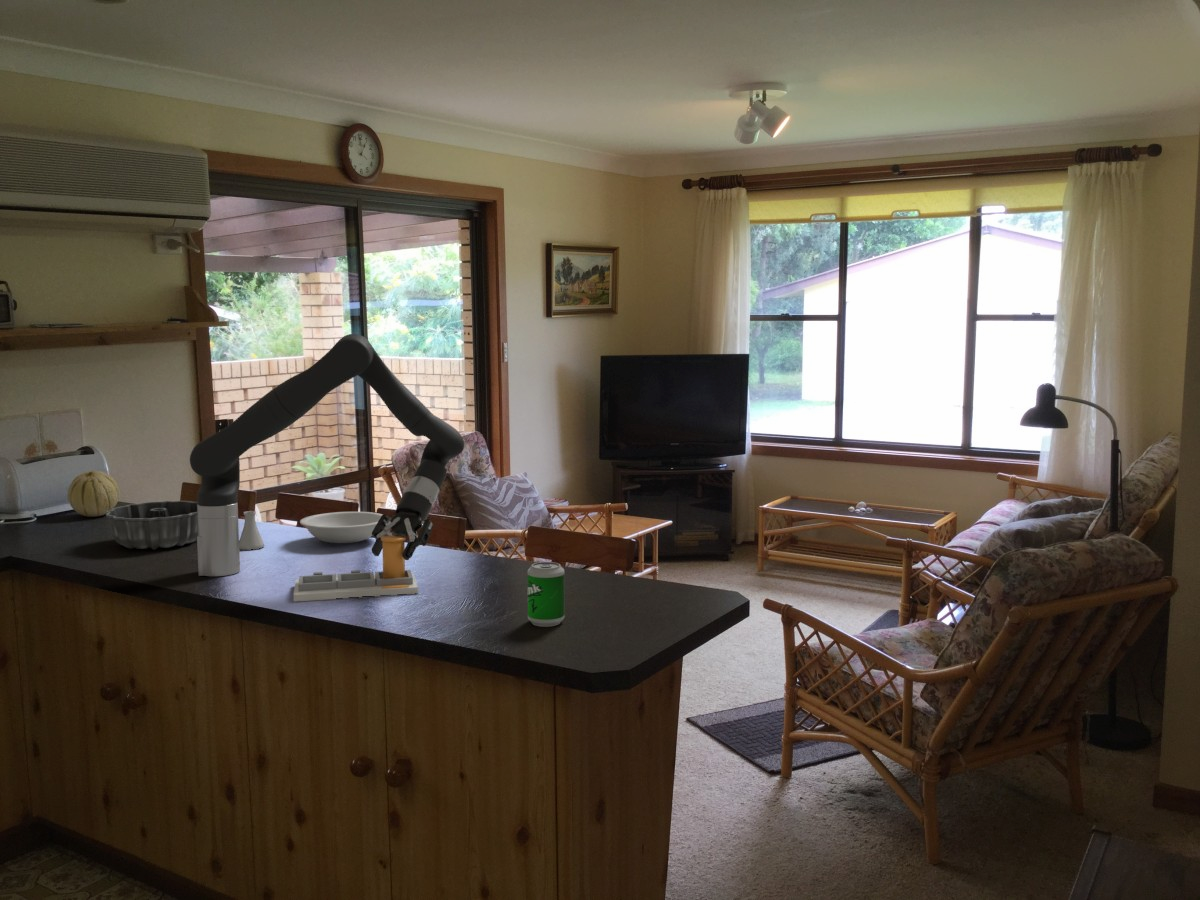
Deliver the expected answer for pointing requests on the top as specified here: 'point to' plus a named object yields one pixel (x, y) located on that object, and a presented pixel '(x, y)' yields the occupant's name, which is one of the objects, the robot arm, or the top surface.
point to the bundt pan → (154, 524)
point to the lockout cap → (393, 556)
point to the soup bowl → (342, 526)
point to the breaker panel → (352, 585)
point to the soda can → (546, 594)
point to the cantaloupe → (93, 493)
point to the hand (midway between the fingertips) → (389, 556)
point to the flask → (250, 533)
